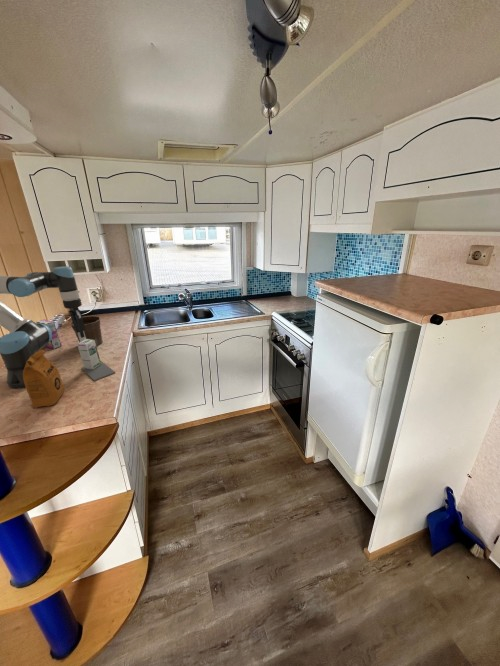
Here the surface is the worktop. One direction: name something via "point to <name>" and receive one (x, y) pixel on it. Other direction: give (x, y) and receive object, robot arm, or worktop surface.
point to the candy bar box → (55, 338)
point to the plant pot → (91, 329)
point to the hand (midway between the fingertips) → (83, 342)
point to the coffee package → (42, 380)
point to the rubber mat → (98, 371)
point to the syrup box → (89, 353)
